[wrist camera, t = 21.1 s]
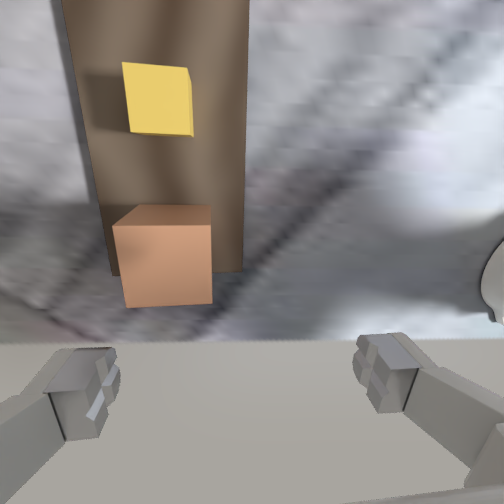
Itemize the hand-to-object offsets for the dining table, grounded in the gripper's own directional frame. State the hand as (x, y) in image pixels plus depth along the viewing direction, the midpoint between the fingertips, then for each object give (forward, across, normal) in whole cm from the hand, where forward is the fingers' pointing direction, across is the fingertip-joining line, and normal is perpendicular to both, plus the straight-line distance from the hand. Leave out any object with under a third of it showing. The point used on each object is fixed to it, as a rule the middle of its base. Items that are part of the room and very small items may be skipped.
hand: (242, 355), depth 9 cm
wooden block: (+18, -5, -2) cm, 18 cm away
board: (+19, -5, +10) cm, 22 cm away
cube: (+17, -5, +10) cm, 20 cm away
